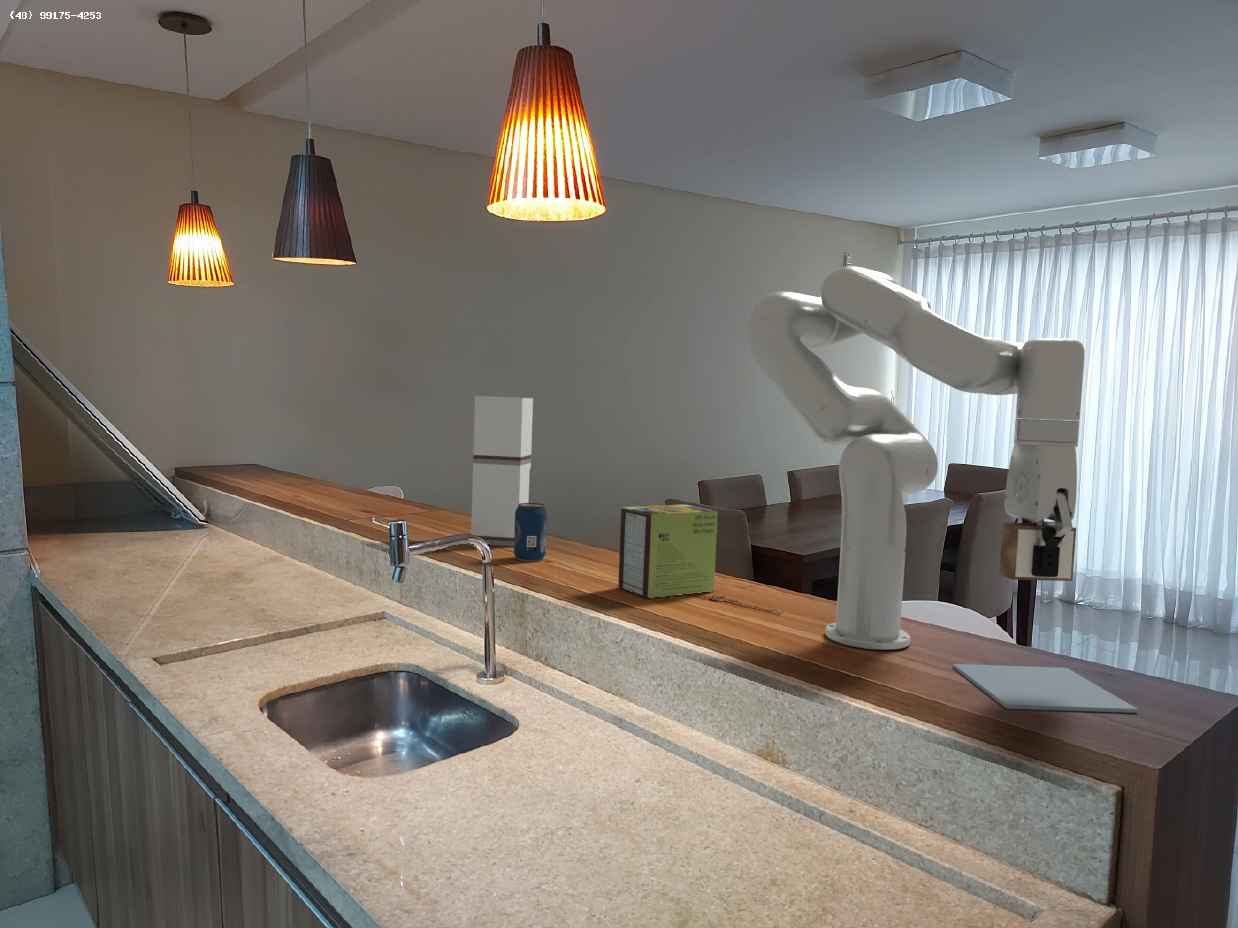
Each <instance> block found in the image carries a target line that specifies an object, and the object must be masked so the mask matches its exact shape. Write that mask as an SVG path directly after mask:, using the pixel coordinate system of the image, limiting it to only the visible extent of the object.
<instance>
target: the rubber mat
mask: <svg viewBox="0 0 1238 928" xmlns="http://www.w3.org/2000/svg"><path fill="white" fill-rule="evenodd" d="M952 669H954V670H955V671H956V672H957V673H959V674H961V675H962V676H963V677H964V678H966V679H967V680H968V681H970V682H971V683H972V684H973V685H975V686H976V687H977V688H979V689H980V690H981V691H983V692H984V693H985V694H987V695H988V696H989V697H991V698H992V699H994V700H995V702H997V703H998V704H999V705H1001V706H1002V707H1003V708H1005V709H1008V710H1009V709H1010V710H1011V709H1012V710H1013V709H1014V710H1035V711H1036V710H1037V711H1038V710H1039V711H1040V710H1041V711H1064V712H1065V711H1071V712H1094V713H1095V712H1098V713H1124V714H1125V713H1126V714H1127V713H1128V714H1138V708H1137V707H1135V706H1133V705H1131V704H1130V703H1128V702H1126V701H1124V700H1123V699H1121V698H1120V697H1118V696H1116V695H1114V694H1113V693H1111V692H1110V691H1108V690H1106V689H1104V688H1103V687H1100V686H1099V685H1097V684H1096V683H1093V682H1092V681H1090V680H1088V679H1087V678H1085V677H1083V676H1082V675H1080V674H1078V673H1076V672H1075V671H1073V670H1071V669H1070V668H1068V667H1052V666H1050V667H1049V666H1025V665H1023V666H1021V665H996V664H995V665H994V664H970V663H968V664H967V663H966V664H965V663H964V664H963V663H952Z"/></svg>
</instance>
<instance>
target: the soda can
mask: <svg viewBox="0 0 1238 928" xmlns="http://www.w3.org/2000/svg"><path fill="white" fill-rule="evenodd" d="M547 522H548V512H547V510H546V506H545V504H544V503H539V502H529V503H519V504H518V507H517V509H516V511H515V531H514V546H513V555H514V556H515V558H516V560H517V561H522V562H540V561H542V560H543V559H544V557H545V555H546V554H547V553H546V552H547V528H548V527H547V526H548V525H547V524H548V523H547Z"/></svg>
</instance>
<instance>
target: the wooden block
mask: <svg viewBox="0 0 1238 928" xmlns="http://www.w3.org/2000/svg"><path fill="white" fill-rule="evenodd" d="M1049 528H1050V527H1046V526H1045V529H1046V532H1047V530H1048V529H1049ZM1076 537H1077V527H1074V526H1072V529H1071V530H1070V531H1069V532H1068V533H1067V534H1065V536H1064V538H1063V544H1062V546H1061V547H1060V555H1059V568H1058V576H1057V577H1036V576H1033V575H1032V560H1033V546H1034V545H1037V523H1034V522H1031V523H1015V522H1008V521H1007V522H1006V521H1005V522H1002V530H1001V542H1000V543H1001V547H1000V559H999V573H998V574H999V575H1001V576H1003V577H1005V578H1008V579H1010V580H1016V581H1018V580H1019V581H1025V580H1026V581H1052V582H1053V581H1054V582H1057V581H1058V582H1073V581H1074V578H1073V577H1074V565H1075V550H1076Z"/></svg>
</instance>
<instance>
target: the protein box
mask: <svg viewBox="0 0 1238 928" xmlns="http://www.w3.org/2000/svg"><path fill="white" fill-rule="evenodd" d="M620 509H621V510H620V533H619V536H620V537H619V563H618V585H617V586H618V587H617V588H619V587H620V588H619V589H621V588H623V589H627V590H629V591H632V592H634V593H637V594H638V595H637V594H636V595H637V596H639V595H640V597H643V598H645V597H646V598H645V599H647V598H650V599H656V598H655V597H661V598H667V597H666V596H671V595H678V594H687V593H693V592H694V593H695V592H696V593H697V592H703V591H711V590H714V591H715V578H716V577H715V575H716V555H717V552H716V551H717V536H718V535H717V534H718V515H719V511H718V510H715V509H709V508H703V507H701V506H700V507H698V506H694V505H690V504H671V505H670V504H667V505H661V504H660V505H645V506H644V505H642V506H641V505H640V506H624V507H621V508H620ZM623 589H622V590H623ZM629 591H628V592H629ZM634 593H633V594H634ZM671 597H672V596H671Z"/></svg>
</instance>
